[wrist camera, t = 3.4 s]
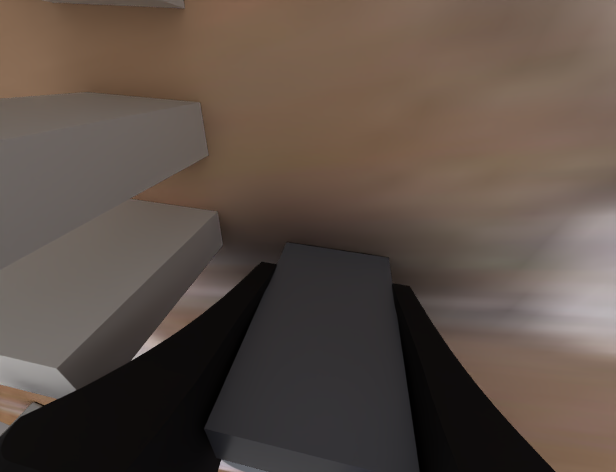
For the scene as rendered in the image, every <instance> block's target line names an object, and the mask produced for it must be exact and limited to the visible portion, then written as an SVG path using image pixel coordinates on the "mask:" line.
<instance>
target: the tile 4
mask: <svg viewBox="0 0 616 472" xmlns="http://www.w3.org/2000/svg"><path fill="white" fill-rule="evenodd" d="M43 1H47V2H52V3H72V4H95V5H117V6H140V7H163V8H185V6H184V0H43Z"/></svg>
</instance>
